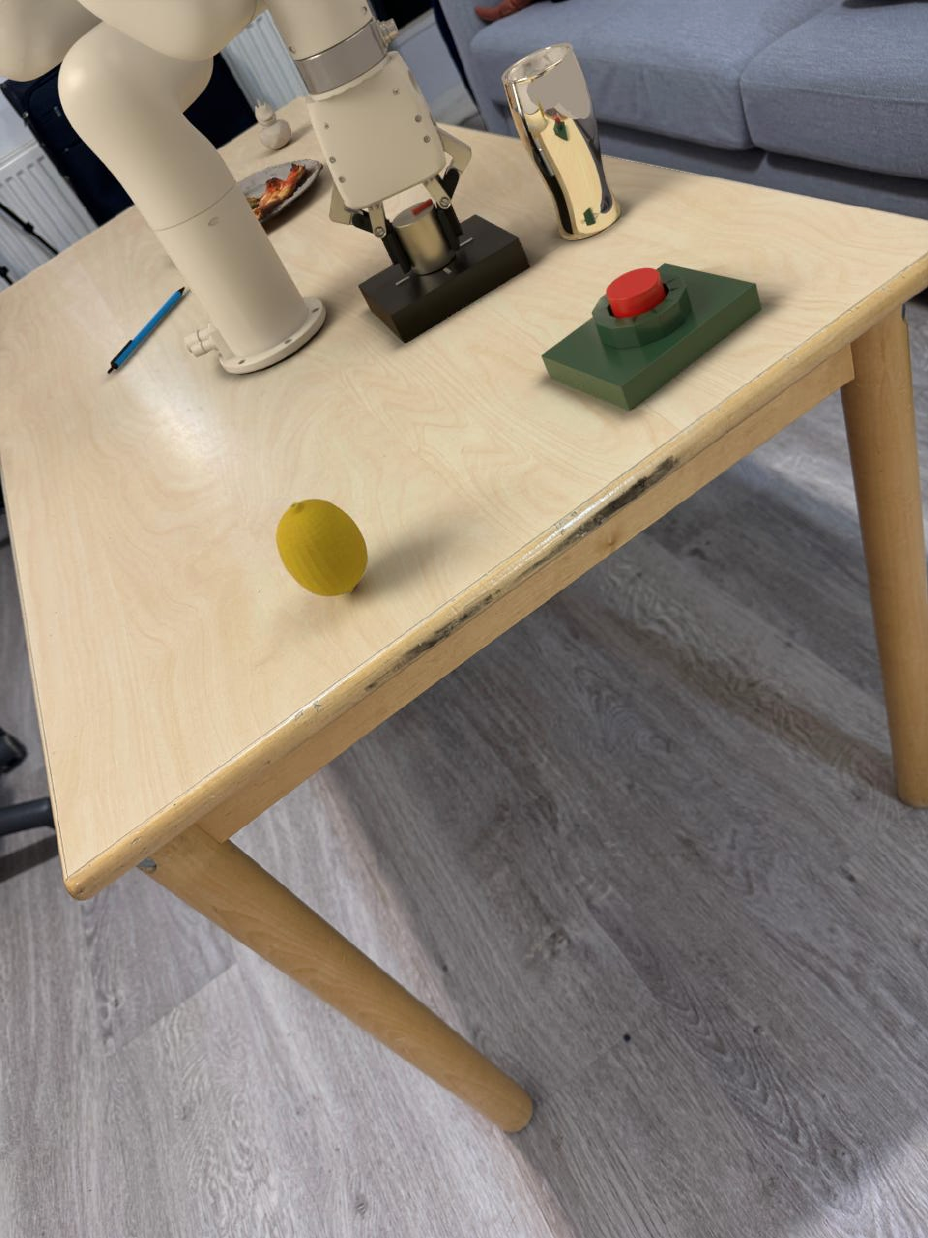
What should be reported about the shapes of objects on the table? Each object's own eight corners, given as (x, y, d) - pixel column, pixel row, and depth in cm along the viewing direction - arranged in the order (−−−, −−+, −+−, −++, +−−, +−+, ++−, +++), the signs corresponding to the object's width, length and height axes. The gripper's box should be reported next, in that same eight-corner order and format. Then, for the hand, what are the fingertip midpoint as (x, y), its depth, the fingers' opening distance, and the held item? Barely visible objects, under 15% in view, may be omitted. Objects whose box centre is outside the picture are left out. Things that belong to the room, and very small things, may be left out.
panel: (404, 343, 92) (389, 314, 90) (371, 310, 101) (356, 283, 99) (530, 266, 93) (518, 235, 91) (486, 240, 101) (474, 211, 99)
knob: (422, 279, 93) (398, 227, 89) (408, 267, 96) (384, 217, 93) (462, 255, 93) (439, 203, 90) (446, 244, 96) (423, 194, 93)
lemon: (316, 579, 71) (258, 496, 66) (385, 551, 70) (332, 465, 65) (314, 630, 67) (252, 546, 62) (387, 601, 66) (330, 514, 61)
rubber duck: (271, 156, 161) (245, 108, 156) (263, 151, 166) (237, 103, 161) (299, 139, 161) (274, 90, 156) (290, 134, 166) (265, 86, 161)
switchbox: (630, 412, 70) (613, 365, 67) (550, 378, 77) (532, 335, 75) (762, 309, 72) (750, 260, 69) (671, 286, 79) (658, 241, 77)
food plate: (355, 161, 139) (344, 137, 137) (259, 253, 128) (245, 228, 126) (243, 187, 155) (231, 165, 153) (148, 270, 144) (134, 248, 142)
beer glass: (622, 228, 90) (570, 60, 81) (551, 251, 93) (492, 91, 83) (628, 195, 95) (579, 32, 85) (560, 217, 98) (505, 62, 88)
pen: (108, 376, 119) (102, 368, 118) (184, 290, 130) (179, 282, 129) (113, 375, 118) (107, 367, 118) (189, 289, 130) (184, 281, 129)
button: (636, 324, 70) (629, 303, 69) (602, 314, 73) (595, 293, 72) (677, 293, 71) (671, 271, 70) (641, 284, 74) (635, 263, 73)
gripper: (433, 4, 84) (510, 205, 95) (260, 92, 87) (354, 275, 99) (435, 24, 78) (517, 235, 90) (251, 117, 82) (352, 307, 93)
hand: (431, 254), depth 94 cm, fingers closed on knob, 4 cm apart
